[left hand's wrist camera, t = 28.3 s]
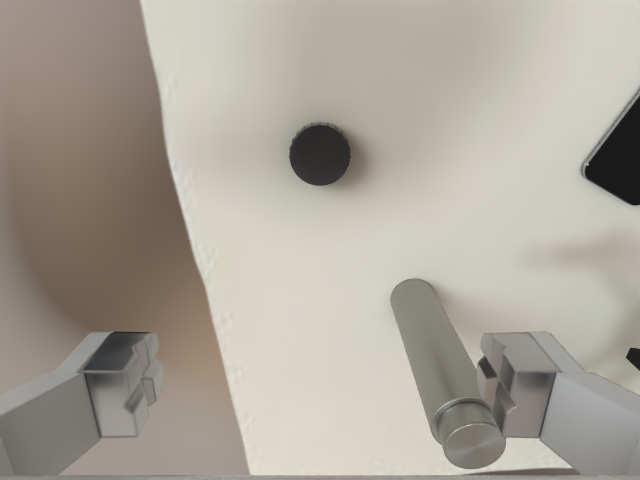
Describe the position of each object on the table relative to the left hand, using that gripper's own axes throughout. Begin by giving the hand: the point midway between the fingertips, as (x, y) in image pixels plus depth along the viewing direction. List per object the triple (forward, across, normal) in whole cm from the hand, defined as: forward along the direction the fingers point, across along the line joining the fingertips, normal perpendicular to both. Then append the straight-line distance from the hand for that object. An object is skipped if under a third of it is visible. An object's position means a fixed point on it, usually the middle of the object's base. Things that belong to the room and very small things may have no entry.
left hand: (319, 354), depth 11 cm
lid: (+28, 0, 0) cm, 28 cm away
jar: (+30, +10, -15) cm, 35 cm away
